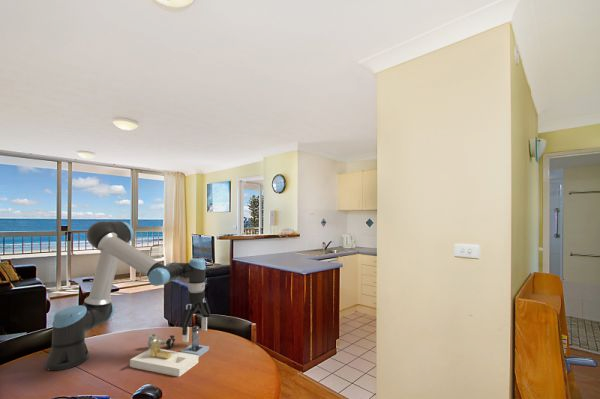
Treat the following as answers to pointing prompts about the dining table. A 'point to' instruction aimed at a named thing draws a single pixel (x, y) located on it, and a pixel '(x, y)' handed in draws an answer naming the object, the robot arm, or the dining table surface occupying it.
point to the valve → (154, 339)
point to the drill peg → (195, 338)
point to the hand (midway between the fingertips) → (195, 335)
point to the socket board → (165, 362)
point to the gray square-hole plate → (200, 352)
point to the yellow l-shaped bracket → (159, 351)
